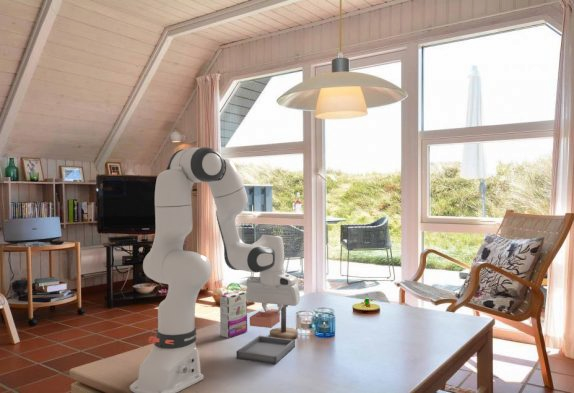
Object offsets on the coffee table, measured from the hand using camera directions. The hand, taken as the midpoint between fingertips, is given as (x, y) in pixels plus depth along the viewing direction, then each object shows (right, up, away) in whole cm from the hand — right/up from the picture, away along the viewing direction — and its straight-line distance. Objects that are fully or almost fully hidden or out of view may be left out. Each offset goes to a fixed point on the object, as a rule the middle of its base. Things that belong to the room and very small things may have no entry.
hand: (272, 315), depth 167 cm
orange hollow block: (-2, -1, -4) cm, 5 cm away
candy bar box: (-16, -12, +17) cm, 26 cm away
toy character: (+43, -12, +54) cm, 70 cm away
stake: (+4, -12, +14) cm, 18 cm away
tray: (-2, -12, -5) cm, 13 cm away
